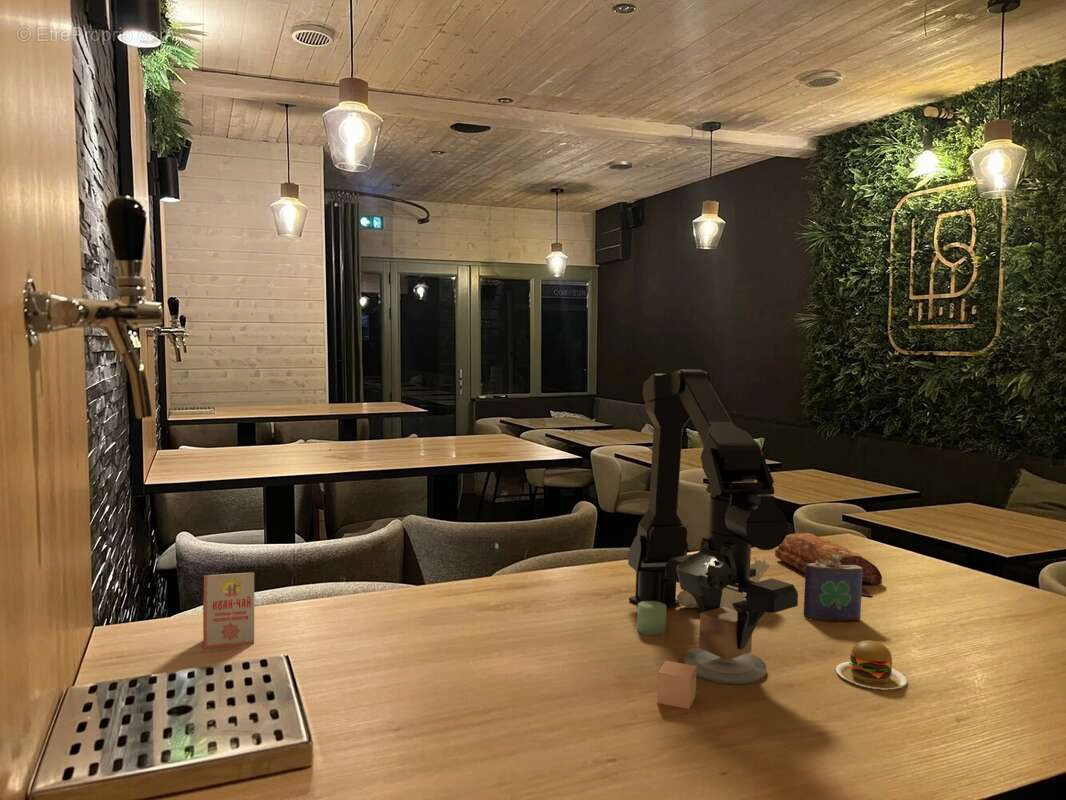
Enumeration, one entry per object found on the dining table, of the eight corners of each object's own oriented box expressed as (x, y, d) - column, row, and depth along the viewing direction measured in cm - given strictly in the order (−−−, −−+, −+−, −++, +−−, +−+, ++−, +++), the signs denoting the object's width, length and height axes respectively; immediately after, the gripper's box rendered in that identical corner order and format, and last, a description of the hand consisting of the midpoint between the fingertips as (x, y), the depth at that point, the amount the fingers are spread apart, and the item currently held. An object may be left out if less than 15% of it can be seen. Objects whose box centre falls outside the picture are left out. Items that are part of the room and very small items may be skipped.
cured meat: (819, 600, 141) (822, 562, 141) (754, 562, 165) (756, 530, 165) (909, 599, 144) (912, 562, 144) (833, 561, 169) (835, 530, 168)
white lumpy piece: (685, 634, 128) (763, 586, 123) (664, 594, 131) (738, 545, 127) (719, 637, 140) (791, 593, 135) (698, 600, 144) (767, 556, 139)
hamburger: (868, 707, 100) (871, 665, 99) (804, 670, 111) (806, 632, 111) (940, 694, 104) (942, 654, 104) (872, 660, 115) (873, 623, 115)
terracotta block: (656, 703, 98) (658, 672, 98) (664, 690, 102) (665, 660, 102) (689, 709, 97) (690, 678, 97) (695, 696, 101) (696, 666, 100)
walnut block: (698, 648, 110) (700, 612, 110) (722, 640, 113) (723, 606, 113) (727, 660, 106) (729, 623, 106) (751, 651, 109) (752, 616, 109)
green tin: (631, 629, 124) (632, 604, 124) (651, 623, 127) (651, 599, 126) (651, 637, 120) (652, 611, 120) (671, 631, 123) (672, 606, 123)
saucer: (667, 663, 111) (667, 656, 111) (719, 646, 117) (719, 640, 117) (730, 691, 102) (731, 684, 102) (782, 671, 109) (782, 665, 109)
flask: (857, 617, 132) (860, 553, 131) (863, 623, 129) (867, 558, 128) (801, 615, 132) (804, 552, 132) (806, 621, 129) (809, 556, 129)
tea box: (205, 639, 116) (205, 572, 115) (254, 635, 118) (254, 569, 117) (203, 648, 112) (203, 579, 111) (254, 644, 114) (253, 576, 114)
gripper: (639, 525, 111) (635, 633, 112) (749, 555, 96) (743, 680, 97) (693, 516, 118) (689, 618, 119) (803, 542, 103) (797, 659, 104)
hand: (725, 642), depth 109 cm, fingers closed on walnut block, 5 cm apart
